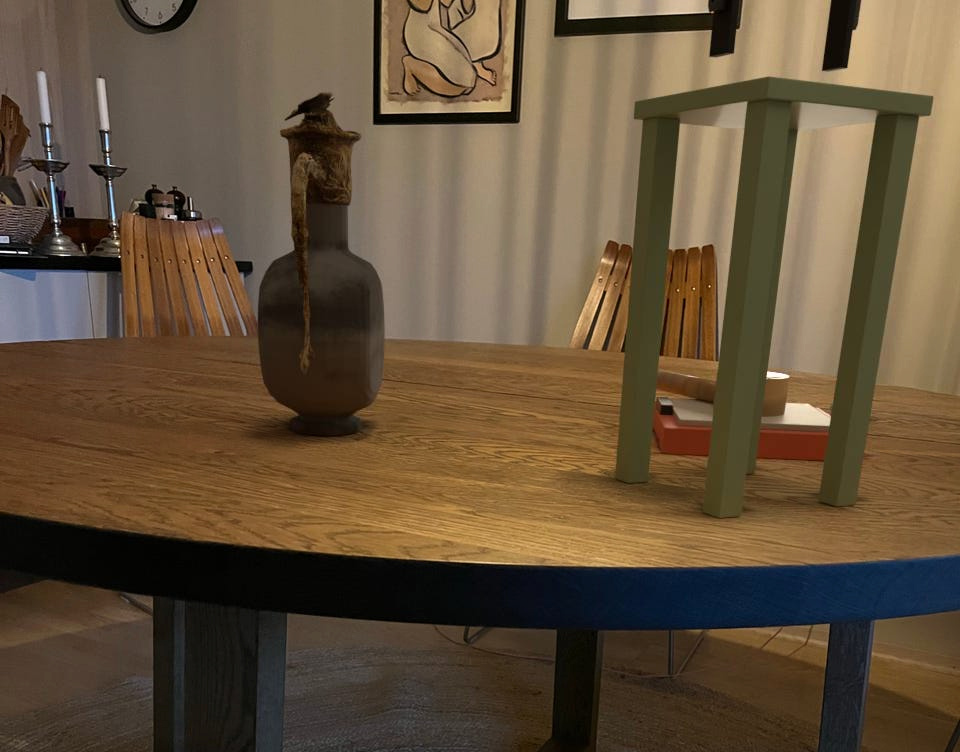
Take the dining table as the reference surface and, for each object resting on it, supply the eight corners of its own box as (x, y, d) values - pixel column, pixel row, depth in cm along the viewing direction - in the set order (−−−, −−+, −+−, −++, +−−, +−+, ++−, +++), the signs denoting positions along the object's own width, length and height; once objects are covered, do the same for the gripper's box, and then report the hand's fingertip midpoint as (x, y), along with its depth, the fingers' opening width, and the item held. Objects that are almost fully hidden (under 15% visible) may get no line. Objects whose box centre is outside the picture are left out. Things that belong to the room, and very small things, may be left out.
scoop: (799, 415, 102) (804, 377, 101) (742, 417, 99) (747, 378, 98) (679, 387, 119) (682, 355, 118) (628, 389, 116) (630, 356, 115)
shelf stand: (865, 506, 79) (934, 95, 69) (717, 520, 73) (768, 75, 63) (741, 467, 92) (783, 116, 81) (606, 477, 86) (634, 101, 76)
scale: (815, 430, 112) (820, 398, 111) (857, 462, 96) (863, 425, 94) (649, 422, 114) (652, 391, 112) (662, 453, 97) (665, 416, 96)
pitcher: (390, 419, 111) (389, 106, 100) (364, 452, 93) (360, 76, 82) (289, 415, 111) (278, 103, 100) (244, 448, 93) (224, 73, 82)
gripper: (886, -172, 98) (850, 79, 106) (668, -228, 88) (646, 54, 96) (949, -199, 92) (907, 70, 100) (723, -263, 82) (695, 42, 89)
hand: (779, 63), depth 98 cm, fingers open, 13 cm apart
